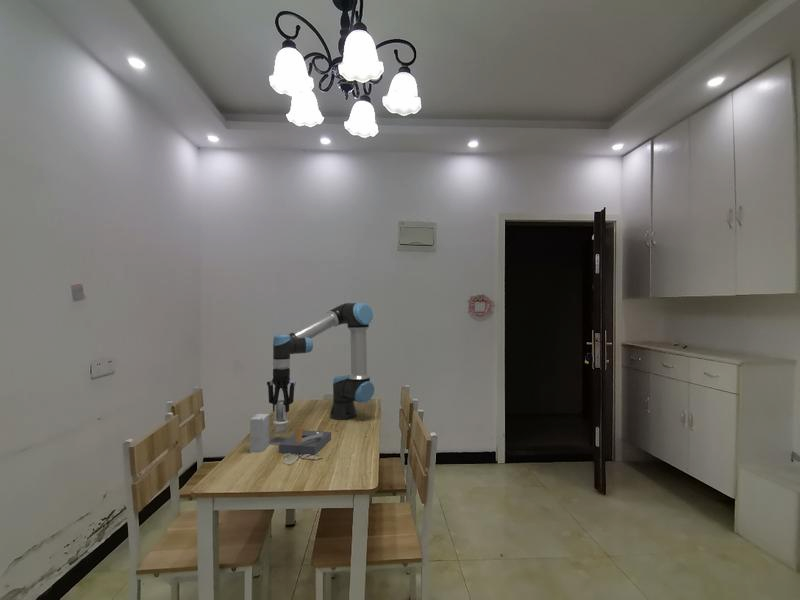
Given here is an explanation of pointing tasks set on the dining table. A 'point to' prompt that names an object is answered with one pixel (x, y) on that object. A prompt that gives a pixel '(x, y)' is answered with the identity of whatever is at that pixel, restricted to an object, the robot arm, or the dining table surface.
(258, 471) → the dining table surface
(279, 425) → the plug
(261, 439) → the skincare box
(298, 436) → the clip
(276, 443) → the pad
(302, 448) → the socket block
